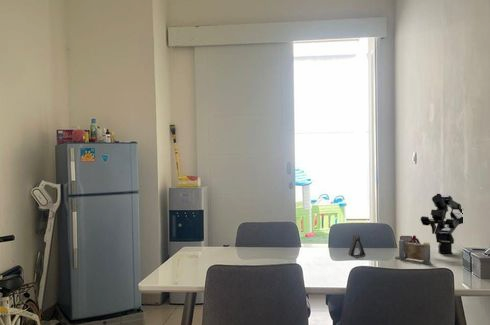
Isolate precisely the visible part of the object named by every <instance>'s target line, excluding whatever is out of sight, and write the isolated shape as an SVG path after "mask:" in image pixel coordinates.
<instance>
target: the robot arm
mask: <svg viewBox="0 0 490 325" xmlns="http://www.w3.org/2000/svg"><path fill="white" fill-rule="evenodd" d="M431 201H432V203H433V204H434V207H435V208H436V209H431V211H430V215H431V218H429V216H421V217H420V220H419V221H421V224H422V226H430V227H431V233H432V235H435V238H436V239H435V240H436V243H437V244H438V248H437V249H438V251H437V252H438V253H440V254H443V255H447V254H448V255H452V254H454V253H453V252H452V245H453V244H454V243H455V239H454V236H453V234H452V233H454V232H455V230H456V228H457V227H458V226H459V225H461V224H462V225H463V224H464V223H463V217H462V215H461V214H460V213H462V209H463V208H462V209H461V207H462V205H461V204H460V203H458V202H456V201H455V200H453V197H452V196H451V195H442V194H441V193H436V195H434V196H432V198H431ZM449 208H450V209H451V211H450V212H449ZM454 210H458V211H459V212H454ZM448 212H449V215H450V218H446V215H447V213H448ZM462 214H463V213H462Z"/></svg>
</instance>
